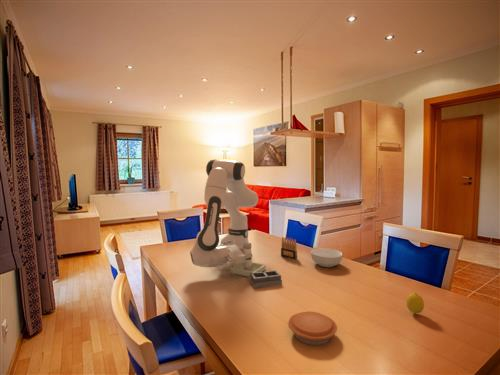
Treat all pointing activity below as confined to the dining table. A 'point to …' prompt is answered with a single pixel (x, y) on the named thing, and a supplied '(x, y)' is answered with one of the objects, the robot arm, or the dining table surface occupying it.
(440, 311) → the dining table surface
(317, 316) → the pie
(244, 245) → the fuse
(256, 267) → the tray
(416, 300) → the lemon
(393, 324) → the dining table surface
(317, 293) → the dining table surface
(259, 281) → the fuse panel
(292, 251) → the ammunition clip
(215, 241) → the robot arm
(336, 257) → the cereal bowl
